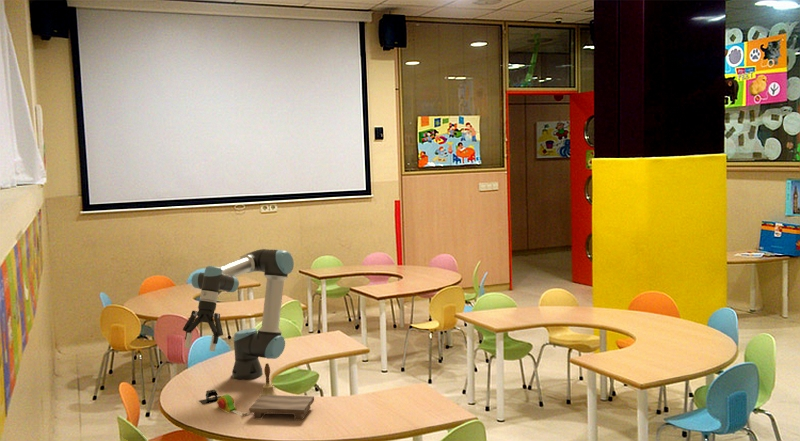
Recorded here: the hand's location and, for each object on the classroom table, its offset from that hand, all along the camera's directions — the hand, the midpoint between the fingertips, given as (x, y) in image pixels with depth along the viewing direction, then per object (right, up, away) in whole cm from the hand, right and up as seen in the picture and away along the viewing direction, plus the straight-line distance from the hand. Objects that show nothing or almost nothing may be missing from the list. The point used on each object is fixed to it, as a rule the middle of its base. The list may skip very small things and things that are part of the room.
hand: (199, 349), depth 312 cm
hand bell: (+26, -26, +19) cm, 42 cm away
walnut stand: (+37, -27, -1) cm, 46 cm away
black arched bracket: (+1, -27, +17) cm, 32 cm away
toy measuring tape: (+13, -28, +3) cm, 31 cm away
